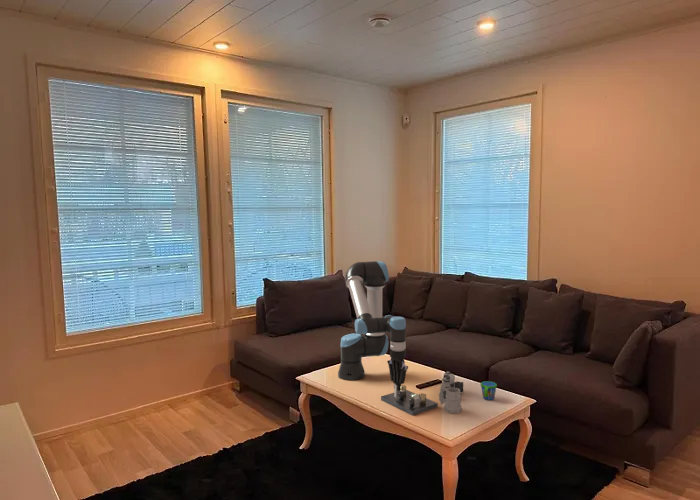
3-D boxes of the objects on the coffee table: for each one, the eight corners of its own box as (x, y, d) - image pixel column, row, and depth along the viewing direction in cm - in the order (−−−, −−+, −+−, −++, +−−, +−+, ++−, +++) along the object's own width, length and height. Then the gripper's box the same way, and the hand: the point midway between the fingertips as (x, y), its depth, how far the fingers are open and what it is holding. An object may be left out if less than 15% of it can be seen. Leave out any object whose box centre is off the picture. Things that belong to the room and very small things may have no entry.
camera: (462, 400, 245) (462, 380, 244) (442, 399, 247) (441, 379, 247) (463, 389, 260) (463, 370, 259) (443, 388, 263) (443, 369, 262)
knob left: (397, 400, 241) (397, 391, 240) (400, 392, 250) (400, 385, 250) (404, 400, 240) (404, 392, 240) (406, 393, 249) (406, 385, 249)
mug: (455, 415, 228) (455, 389, 227) (434, 408, 236) (434, 383, 235) (464, 410, 233) (465, 385, 232) (444, 403, 241) (444, 379, 240)
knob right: (407, 405, 233) (407, 397, 233) (422, 401, 239) (422, 392, 239) (412, 407, 231) (412, 399, 230) (427, 403, 236) (427, 394, 236)
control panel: (381, 400, 247) (380, 392, 246) (405, 393, 256) (405, 385, 255) (412, 415, 228) (412, 407, 228) (437, 407, 237) (437, 399, 237)
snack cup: (485, 393, 254) (485, 378, 254) (500, 396, 250) (500, 381, 249) (476, 400, 245) (476, 385, 244) (492, 403, 240) (492, 388, 240)
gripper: (383, 347, 244) (383, 394, 246) (400, 353, 234) (400, 402, 236) (395, 344, 248) (394, 390, 251) (412, 351, 238) (411, 398, 240)
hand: (397, 396), depth 243 cm, fingers closed
